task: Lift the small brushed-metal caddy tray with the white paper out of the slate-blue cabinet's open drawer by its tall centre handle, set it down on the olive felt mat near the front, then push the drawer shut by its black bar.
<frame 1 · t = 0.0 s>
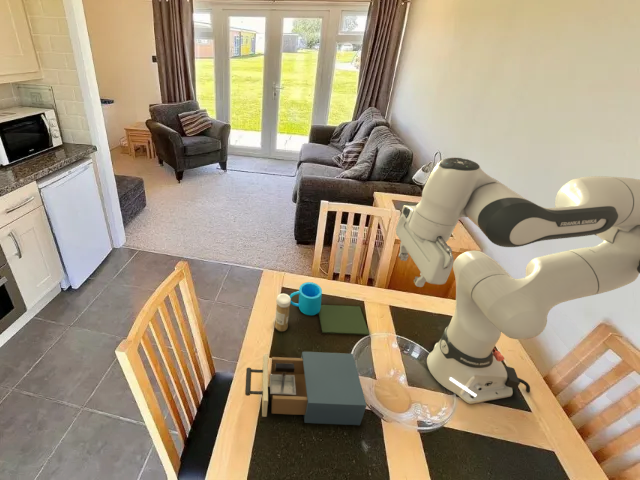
hand: (409, 271, 79), 39 cm above the table, tool pointing down, fingers open, 8 cm apart
metal tray: (282, 390, 88), point 2 cm above the table, touching drawer
mug: (304, 307, 117), on the table, touching mat
sprinkles bottle: (281, 326, 109), on the table
drawer: (278, 384, 87), point 5 cm above the table, slide at 10.0 cm, touching metal tray
cabinet: (327, 396, 89), on the table
mat: (341, 319, 113), on the table
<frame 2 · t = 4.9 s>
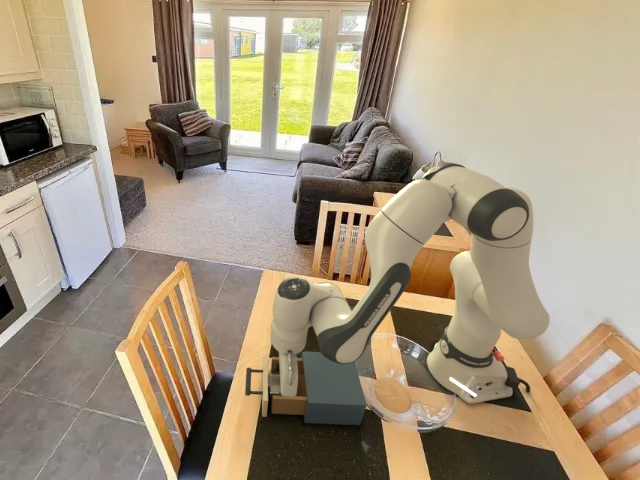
hand: (284, 369, 84), 11 cm above the table, tool pointing down, fingers closed on metal tray
metal tray: (282, 390, 88), point 2 cm above the table, touching drawer, gripper
everything else where it was.
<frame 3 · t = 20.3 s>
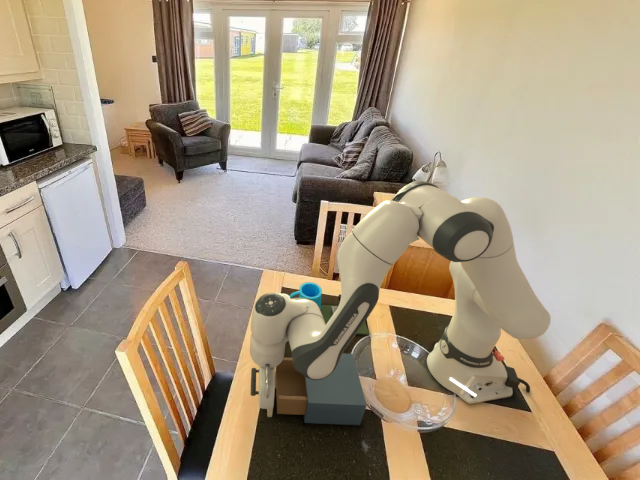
hand: (264, 381, 86), 6 cm above the table, tool pointing down, fingers closed, pressing on drawer
metal tray: (341, 318, 112), point 1 cm above the table, touching mat
drawer: (283, 384, 87), point 5 cm above the table, slide at 8.6 cm, touching gripper
everything else where it was.
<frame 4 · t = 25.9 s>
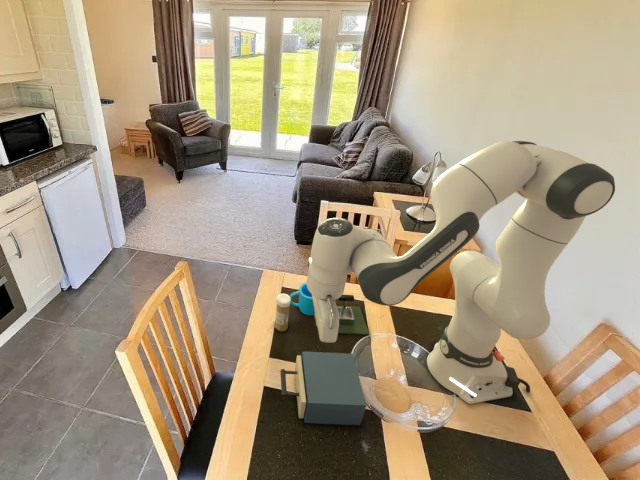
hand: (318, 322, 81), 25 cm above the table, tool pointing down, fingers closed
drawer: (313, 386, 87), point 5 cm above the table, slide at 0.3 cm
everything else where it was.
at the end: metal tray inside the target area on the mat (0.2 cm from its centre), point 0.6 cm above the mat's base; drawer slide at 0.3 cm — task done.
